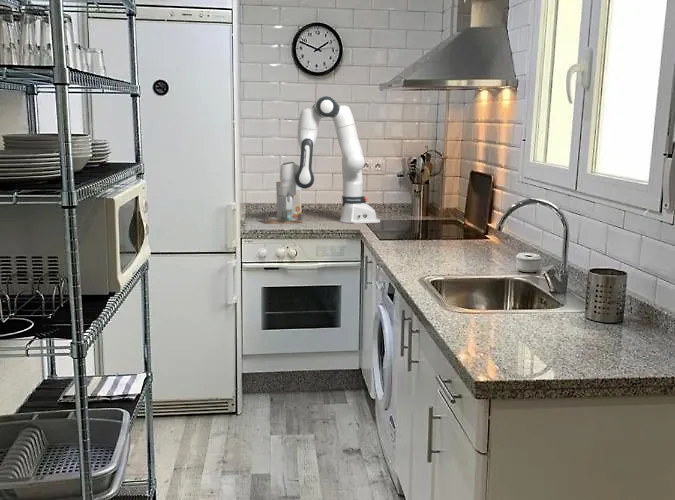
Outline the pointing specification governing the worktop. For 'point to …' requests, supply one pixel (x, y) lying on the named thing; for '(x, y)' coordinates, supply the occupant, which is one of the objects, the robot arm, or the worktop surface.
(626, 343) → the worktop surface
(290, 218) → the teal slider block
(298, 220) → the track
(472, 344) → the worktop surface
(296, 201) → the cracker box
